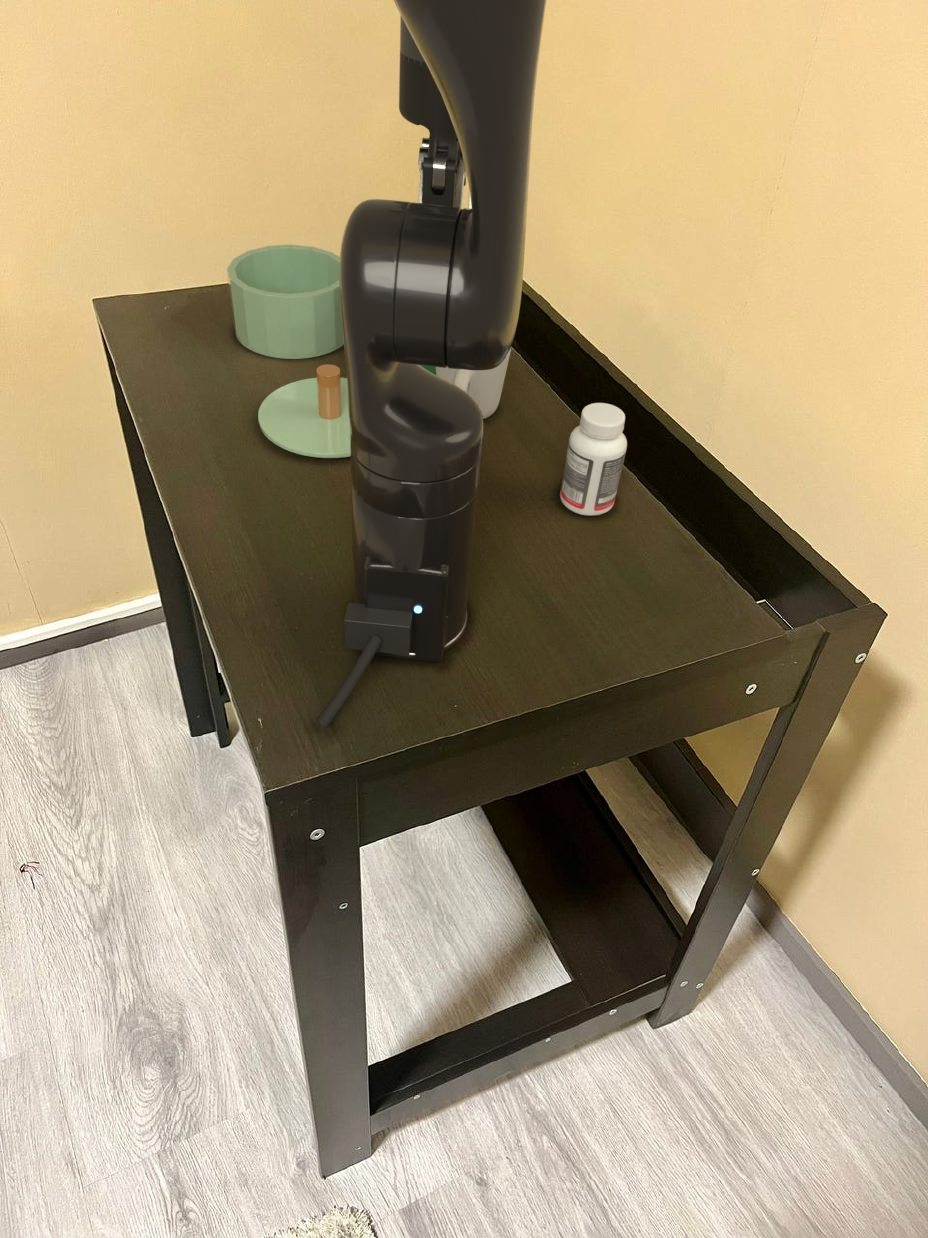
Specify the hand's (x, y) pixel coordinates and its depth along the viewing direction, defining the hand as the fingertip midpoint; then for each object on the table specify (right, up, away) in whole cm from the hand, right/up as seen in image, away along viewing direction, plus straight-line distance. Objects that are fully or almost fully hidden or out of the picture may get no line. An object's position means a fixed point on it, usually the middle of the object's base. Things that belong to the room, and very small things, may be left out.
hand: (439, 263), depth 78 cm
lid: (-12, -10, +16) cm, 23 cm away
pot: (-18, +4, +30) cm, 36 cm away
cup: (+2, -9, +20) cm, 22 cm away
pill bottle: (+14, -19, +10) cm, 26 cm away
